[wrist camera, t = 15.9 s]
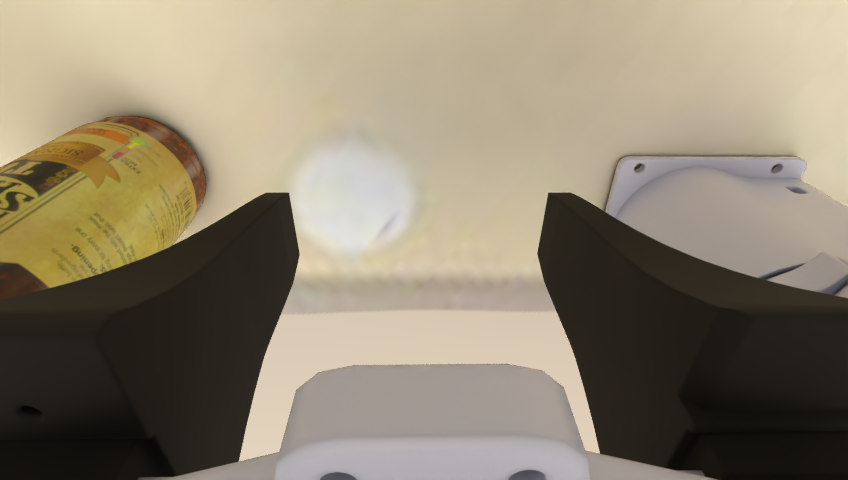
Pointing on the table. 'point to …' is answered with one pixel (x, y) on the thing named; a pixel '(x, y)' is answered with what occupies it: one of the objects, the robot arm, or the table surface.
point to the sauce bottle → (94, 202)
